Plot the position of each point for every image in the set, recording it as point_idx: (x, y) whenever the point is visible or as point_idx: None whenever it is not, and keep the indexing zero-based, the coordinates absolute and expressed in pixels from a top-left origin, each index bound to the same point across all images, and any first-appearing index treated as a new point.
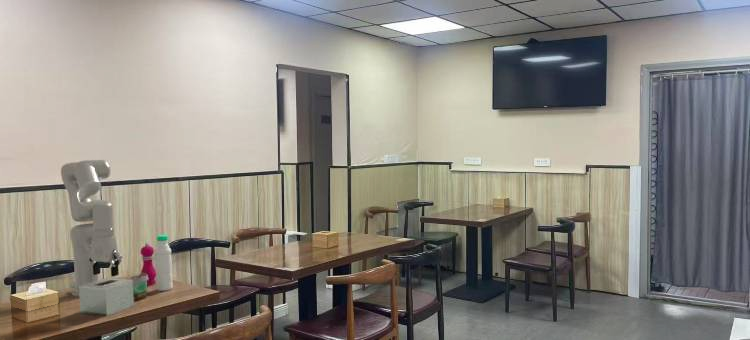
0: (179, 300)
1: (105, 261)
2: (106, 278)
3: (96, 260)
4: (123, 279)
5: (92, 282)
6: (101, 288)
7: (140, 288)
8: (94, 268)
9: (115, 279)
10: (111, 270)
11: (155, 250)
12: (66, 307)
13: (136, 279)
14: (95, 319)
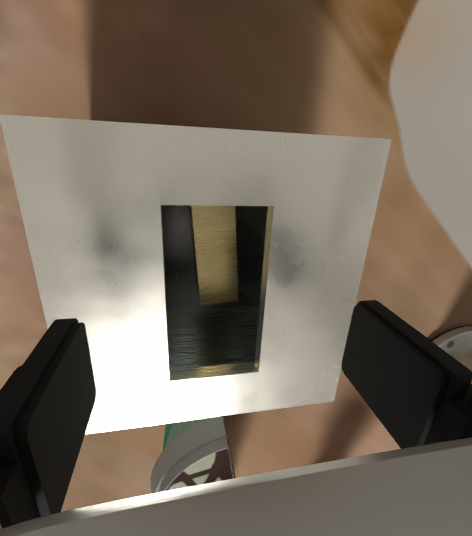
0: None
1: (26, 533)
2: (322, 387)
3: (459, 465)
4: (163, 415)
5: (346, 271)
6: (73, 119)
7: (165, 435)
8: (407, 348)
9: (229, 394)
10: (34, 372)
11: None
12: (420, 203)
13: (168, 474)
14: (92, 46)
